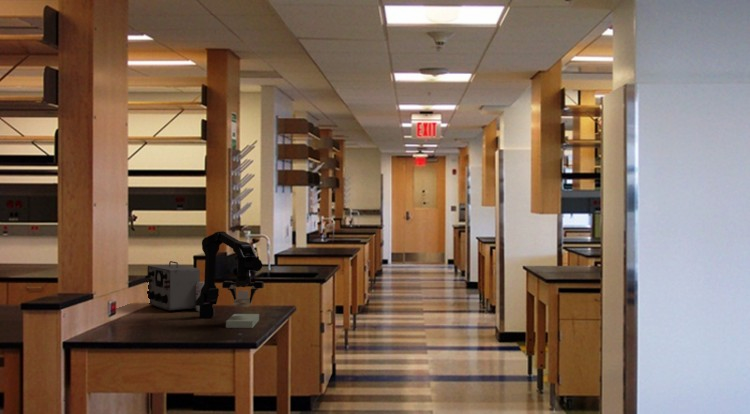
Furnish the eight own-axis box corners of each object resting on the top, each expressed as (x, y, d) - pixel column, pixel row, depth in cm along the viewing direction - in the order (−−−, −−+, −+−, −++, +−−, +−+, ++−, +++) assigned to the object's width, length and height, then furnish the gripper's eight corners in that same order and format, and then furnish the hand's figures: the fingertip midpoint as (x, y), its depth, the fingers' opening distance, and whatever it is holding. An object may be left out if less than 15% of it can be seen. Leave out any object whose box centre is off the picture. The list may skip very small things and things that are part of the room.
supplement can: (214, 310, 393) (215, 281, 393) (205, 312, 386) (205, 283, 385) (202, 309, 396) (202, 281, 396) (192, 311, 389) (192, 282, 389)
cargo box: (237, 299, 348) (237, 291, 348) (239, 298, 353) (239, 290, 353) (247, 299, 348) (247, 292, 348) (248, 298, 353) (248, 290, 353)
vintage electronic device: (143, 306, 406) (143, 260, 406) (175, 303, 417) (175, 259, 417) (166, 313, 381) (166, 264, 380) (199, 310, 392) (199, 263, 391)
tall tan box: (234, 306, 345) (234, 300, 345) (238, 303, 356) (238, 297, 356) (248, 306, 345) (248, 300, 345) (251, 303, 356) (251, 297, 356)
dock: (225, 327, 339) (226, 321, 339) (234, 320, 361) (234, 313, 361) (252, 327, 340) (252, 321, 340) (259, 320, 362) (259, 314, 362)
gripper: (220, 271, 342) (219, 305, 342) (261, 271, 342) (260, 305, 343) (224, 268, 353) (224, 301, 353) (264, 269, 354) (263, 302, 354)
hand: (243, 303), depth 350 cm, fingers closed on tall tan box, 6 cm apart
